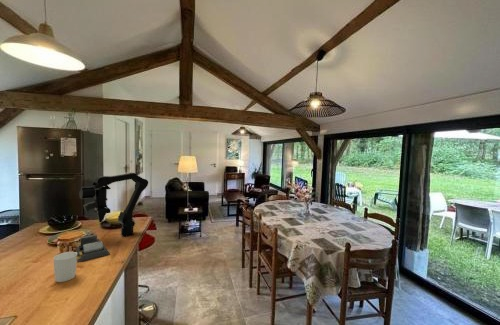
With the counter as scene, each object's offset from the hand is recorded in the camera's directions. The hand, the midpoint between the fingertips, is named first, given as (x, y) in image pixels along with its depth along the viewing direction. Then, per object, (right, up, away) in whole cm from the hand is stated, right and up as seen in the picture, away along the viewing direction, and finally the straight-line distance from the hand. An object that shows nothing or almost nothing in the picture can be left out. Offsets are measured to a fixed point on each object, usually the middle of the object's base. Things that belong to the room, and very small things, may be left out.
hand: (100, 222), depth 135 cm
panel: (+8, -12, -18) cm, 23 cm away
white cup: (+11, -14, -39) cm, 43 cm away
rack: (+4, -13, -13) cm, 19 cm away
